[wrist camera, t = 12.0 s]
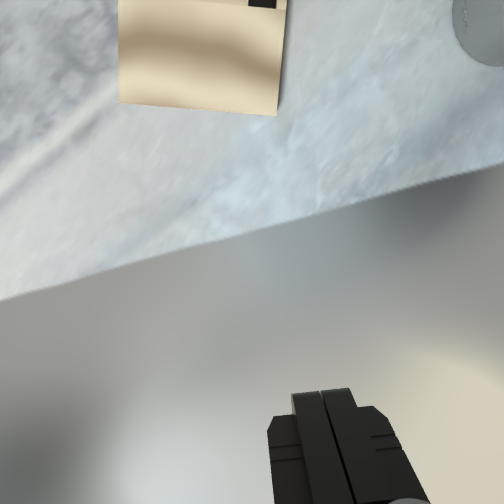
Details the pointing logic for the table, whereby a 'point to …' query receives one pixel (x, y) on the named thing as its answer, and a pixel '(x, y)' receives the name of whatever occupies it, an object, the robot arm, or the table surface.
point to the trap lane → (201, 54)
